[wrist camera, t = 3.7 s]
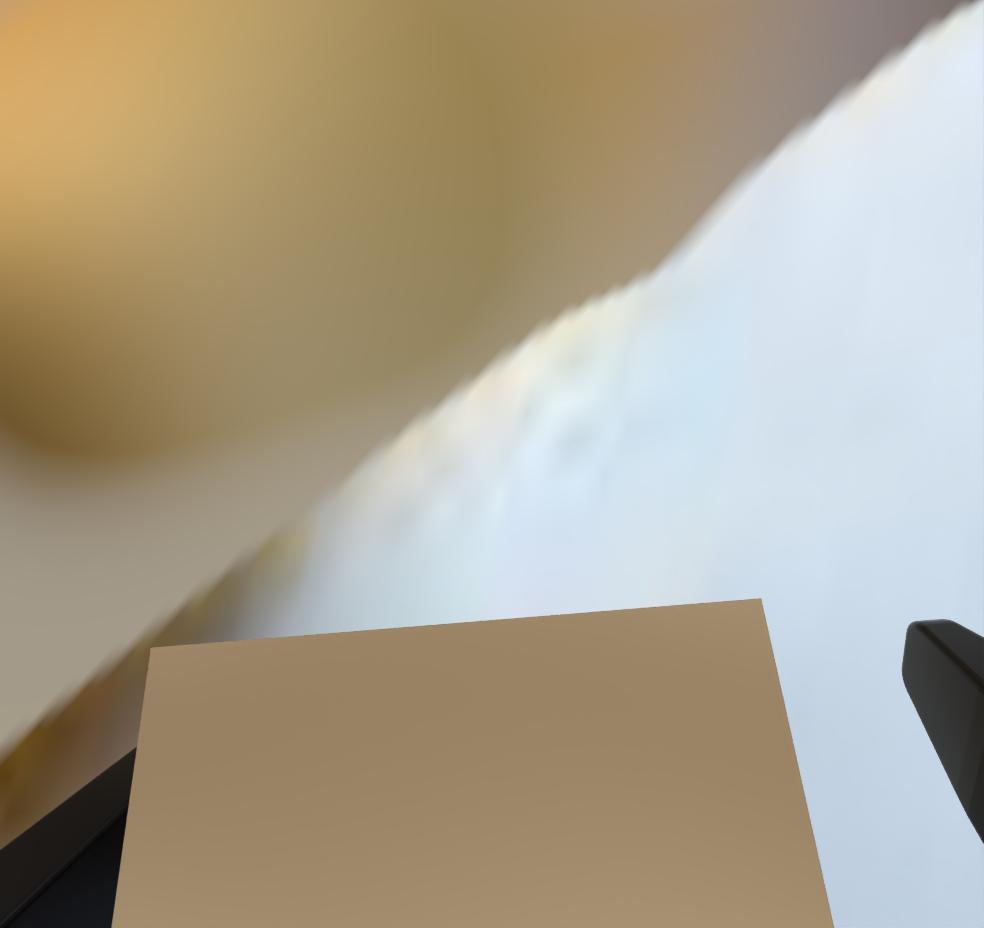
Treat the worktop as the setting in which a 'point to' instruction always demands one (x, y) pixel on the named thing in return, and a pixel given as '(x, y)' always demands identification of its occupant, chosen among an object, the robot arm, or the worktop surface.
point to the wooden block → (474, 779)
